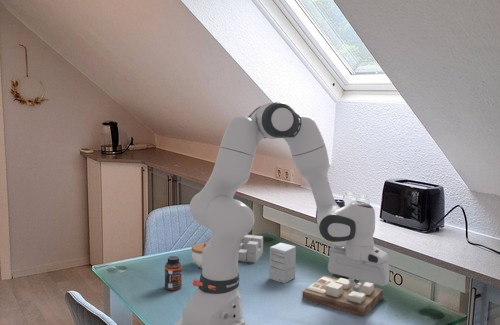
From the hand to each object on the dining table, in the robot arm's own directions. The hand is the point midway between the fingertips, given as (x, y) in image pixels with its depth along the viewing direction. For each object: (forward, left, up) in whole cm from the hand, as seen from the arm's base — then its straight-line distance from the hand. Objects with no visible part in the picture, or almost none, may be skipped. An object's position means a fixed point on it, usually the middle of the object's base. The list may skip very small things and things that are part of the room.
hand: (356, 291), depth 161 cm
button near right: (+1, 0, -5) cm, 5 cm away
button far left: (+9, +8, -5) cm, 13 cm away
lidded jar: (+1, +64, -6) cm, 65 cm away
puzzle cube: (+19, +57, -6) cm, 61 cm away
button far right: (+9, 0, -3) cm, 9 cm away
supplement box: (+8, +32, -6) cm, 34 cm away
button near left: (+1, +8, -3) cm, 9 cm away
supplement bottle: (-23, +59, -6) cm, 64 cm away
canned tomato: (+24, +14, -6) cm, 28 cm away
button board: (+5, +6, -6) cm, 10 cm away
